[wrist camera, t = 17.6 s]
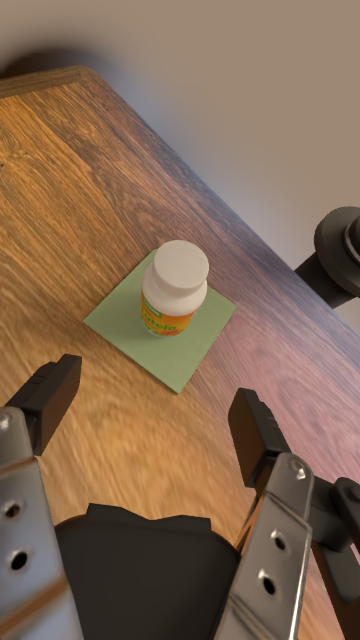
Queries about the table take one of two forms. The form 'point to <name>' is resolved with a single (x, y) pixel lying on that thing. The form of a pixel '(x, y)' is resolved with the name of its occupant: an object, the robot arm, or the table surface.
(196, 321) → the mat
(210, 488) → the table surface
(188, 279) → the supplement bottle
